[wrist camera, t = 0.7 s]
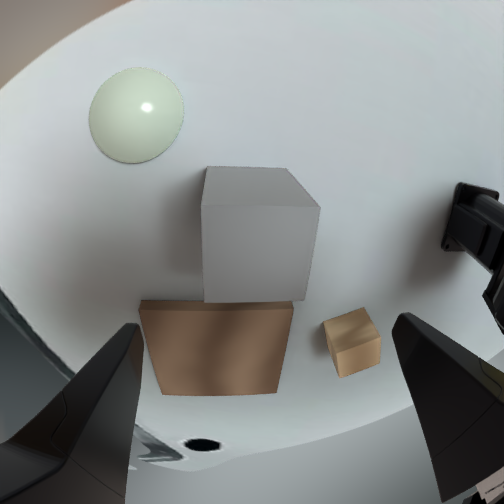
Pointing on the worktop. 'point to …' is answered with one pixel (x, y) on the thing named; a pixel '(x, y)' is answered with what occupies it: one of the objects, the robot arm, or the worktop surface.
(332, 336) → the oak cube
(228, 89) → the worktop surface
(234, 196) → the slate block
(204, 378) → the walnut board
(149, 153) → the pale green rounded piece
